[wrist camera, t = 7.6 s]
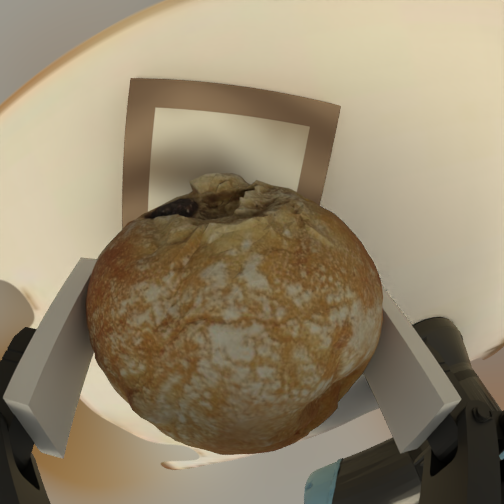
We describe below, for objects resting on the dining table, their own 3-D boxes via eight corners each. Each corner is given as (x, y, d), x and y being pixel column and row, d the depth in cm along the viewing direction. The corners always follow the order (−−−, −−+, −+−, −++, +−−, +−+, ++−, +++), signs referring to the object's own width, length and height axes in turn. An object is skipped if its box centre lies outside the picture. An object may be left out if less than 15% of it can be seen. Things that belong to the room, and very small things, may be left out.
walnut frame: (296, 273, 31) (300, 282, 29) (127, 260, 28) (123, 269, 26) (334, 105, 23) (341, 106, 22) (135, 79, 21) (130, 78, 19)
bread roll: (305, 156, 14) (342, 77, 6) (382, 356, 14) (457, 453, 6) (114, 243, 15) (-8, 258, 7) (201, 421, 15) (158, 533, 7)
